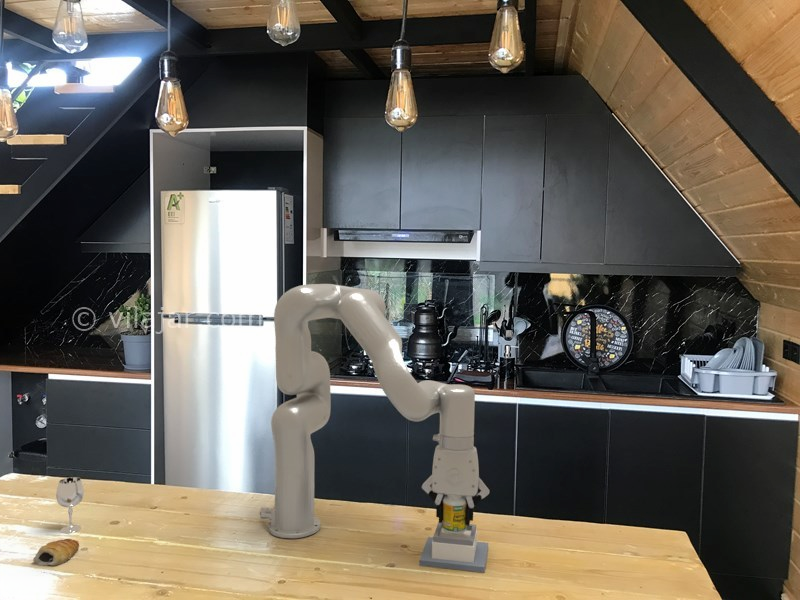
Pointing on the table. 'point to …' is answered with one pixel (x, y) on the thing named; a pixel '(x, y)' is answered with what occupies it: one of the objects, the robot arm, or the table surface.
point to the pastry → (56, 552)
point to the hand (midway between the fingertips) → (454, 521)
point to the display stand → (455, 550)
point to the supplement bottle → (454, 514)
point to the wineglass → (70, 499)
